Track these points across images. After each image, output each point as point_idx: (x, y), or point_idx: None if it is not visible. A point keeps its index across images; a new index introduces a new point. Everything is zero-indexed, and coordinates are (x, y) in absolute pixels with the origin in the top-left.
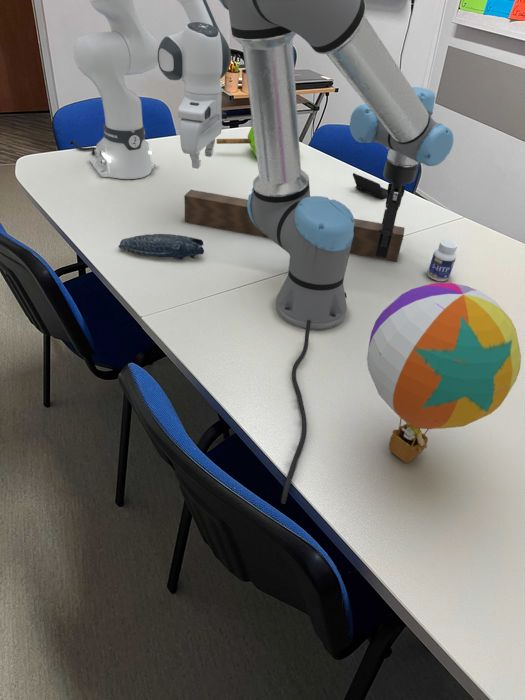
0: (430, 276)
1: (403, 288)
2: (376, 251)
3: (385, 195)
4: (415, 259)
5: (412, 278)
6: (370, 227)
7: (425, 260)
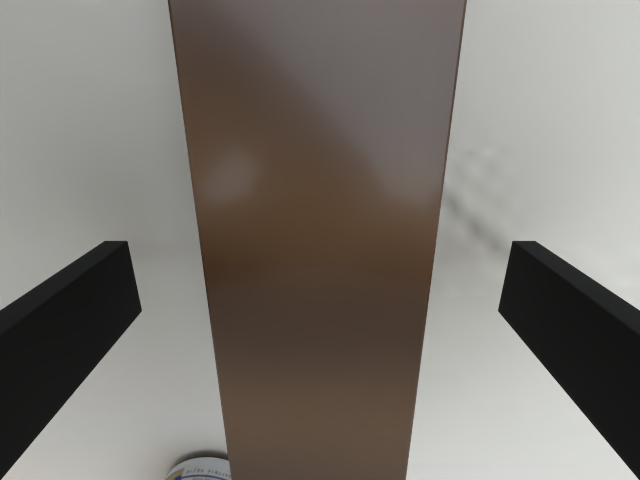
0: (172, 470)
1: None
2: (81, 258)
3: None
4: None
5: (137, 401)
6: (249, 199)
7: None
